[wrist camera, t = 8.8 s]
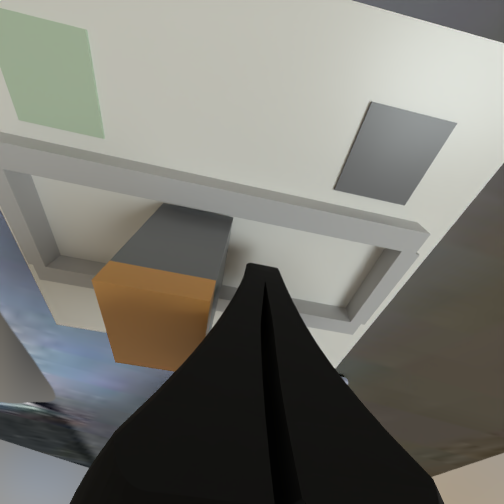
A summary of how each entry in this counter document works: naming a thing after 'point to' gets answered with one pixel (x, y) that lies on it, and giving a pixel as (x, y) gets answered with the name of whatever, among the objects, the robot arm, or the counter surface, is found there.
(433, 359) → the counter surface
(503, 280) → the counter surface
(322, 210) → the switch panel
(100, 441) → the counter surface
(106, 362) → the counter surface
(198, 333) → the knob
